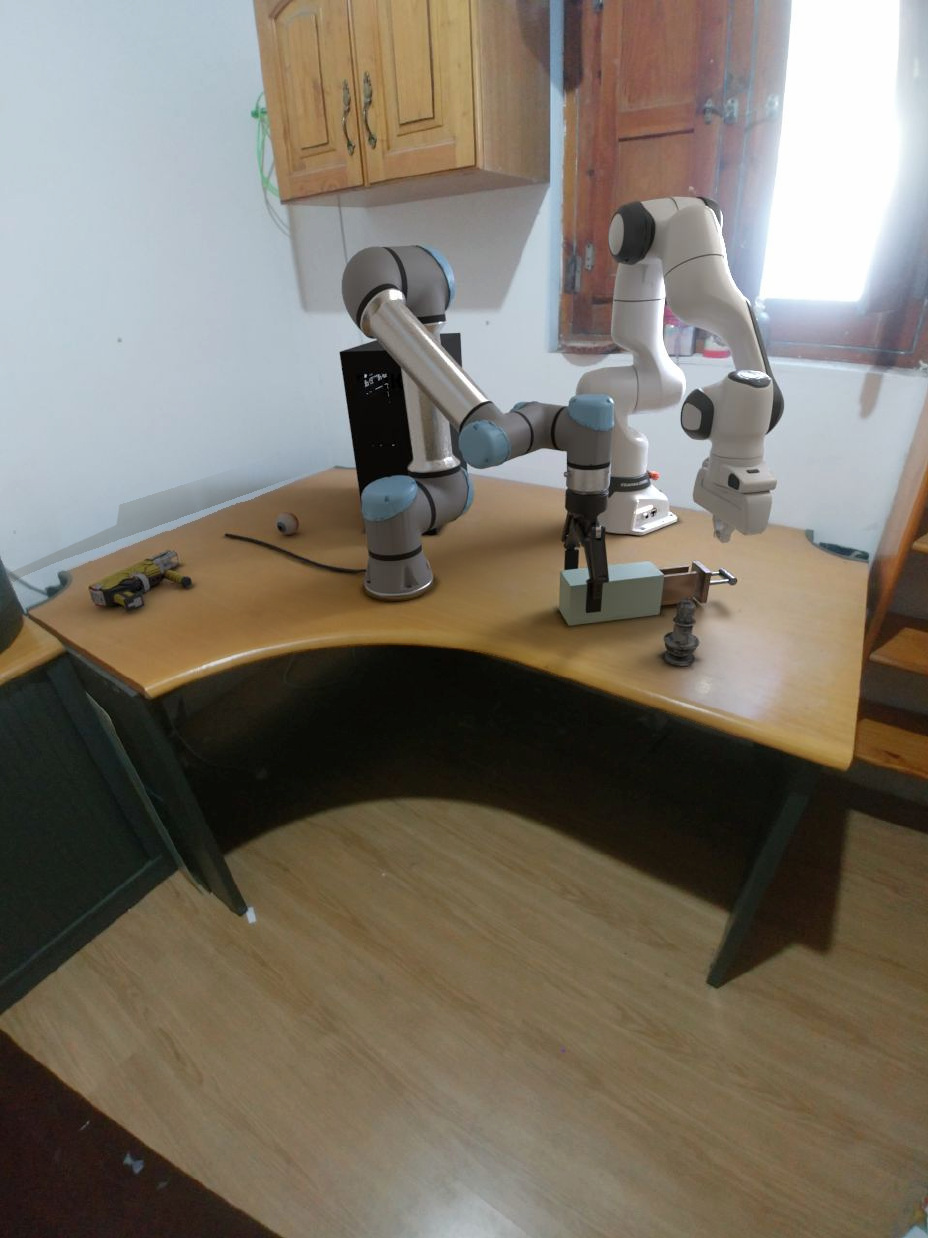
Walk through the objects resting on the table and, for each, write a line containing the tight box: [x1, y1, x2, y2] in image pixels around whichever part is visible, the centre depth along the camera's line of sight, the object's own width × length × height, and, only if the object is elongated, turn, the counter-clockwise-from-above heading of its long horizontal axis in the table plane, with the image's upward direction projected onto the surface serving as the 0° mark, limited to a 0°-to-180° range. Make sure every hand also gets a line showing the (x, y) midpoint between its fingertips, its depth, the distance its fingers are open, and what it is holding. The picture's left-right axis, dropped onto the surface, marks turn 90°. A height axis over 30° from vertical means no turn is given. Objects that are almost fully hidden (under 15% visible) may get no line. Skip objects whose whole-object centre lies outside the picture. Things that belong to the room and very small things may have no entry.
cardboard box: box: [339, 332, 468, 535], centre depth 166 cm, size 38×20×45 cm, turn 167°
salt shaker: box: [662, 596, 700, 667], centre depth 102 cm, size 6×6×12 cm
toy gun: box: [87, 549, 193, 614], centre depth 138 cm, size 5×24×15 cm
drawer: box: [657, 560, 738, 606], centre depth 119 cm, size 23×6×7 cm, turn 99°
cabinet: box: [558, 560, 664, 626], centre depth 118 cm, size 18×7×9 cm, turn 99°
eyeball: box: [275, 511, 300, 536], centre depth 163 cm, size 6×6×6 cm
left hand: (581, 594), depth 117 cm, fingers open, 13 cm apart
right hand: (721, 539), depth 116 cm, fingers closed
